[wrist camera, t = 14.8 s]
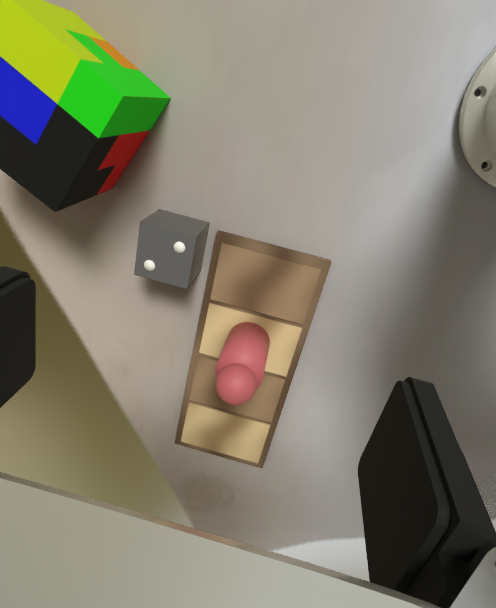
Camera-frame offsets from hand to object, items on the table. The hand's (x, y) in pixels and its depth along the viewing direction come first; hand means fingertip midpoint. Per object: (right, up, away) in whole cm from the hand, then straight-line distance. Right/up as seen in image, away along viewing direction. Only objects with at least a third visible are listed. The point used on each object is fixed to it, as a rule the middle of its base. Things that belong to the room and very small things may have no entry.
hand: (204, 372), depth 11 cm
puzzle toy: (-12, +19, +27) cm, 36 cm away
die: (-5, +8, +31) cm, 33 cm away
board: (+1, -4, +36) cm, 36 cm away
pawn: (+1, -2, +33) cm, 33 cm away
